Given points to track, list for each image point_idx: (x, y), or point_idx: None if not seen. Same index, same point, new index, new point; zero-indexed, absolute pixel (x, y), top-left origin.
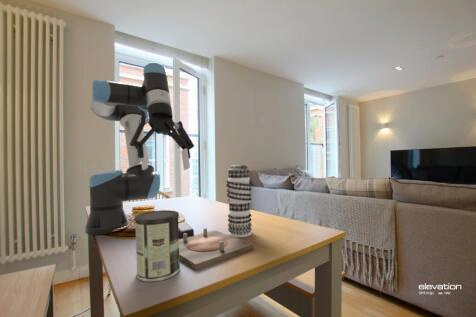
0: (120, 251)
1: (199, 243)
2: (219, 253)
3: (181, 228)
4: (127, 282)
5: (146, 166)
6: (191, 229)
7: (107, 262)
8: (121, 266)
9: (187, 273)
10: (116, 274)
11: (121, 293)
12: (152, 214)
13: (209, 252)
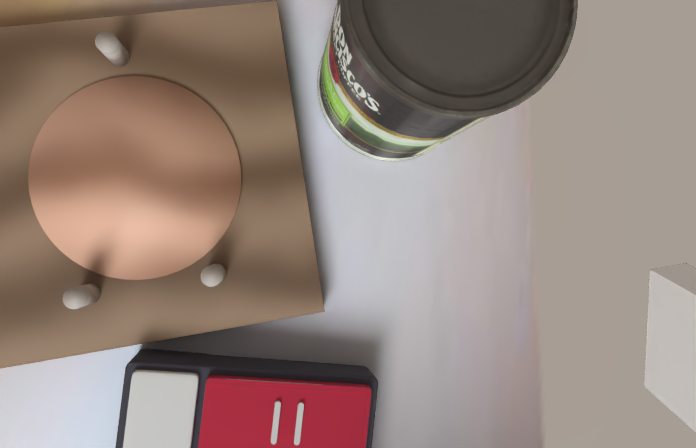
0: (482, 382)
1: (170, 197)
2: (145, 35)
3: (182, 419)
4: None
5: (680, 269)
6: (137, 369)
7: (535, 285)
8: (495, 214)
9: (310, 9)
10: (517, 155)
11: None
12: (478, 40)
13: (177, 73)
